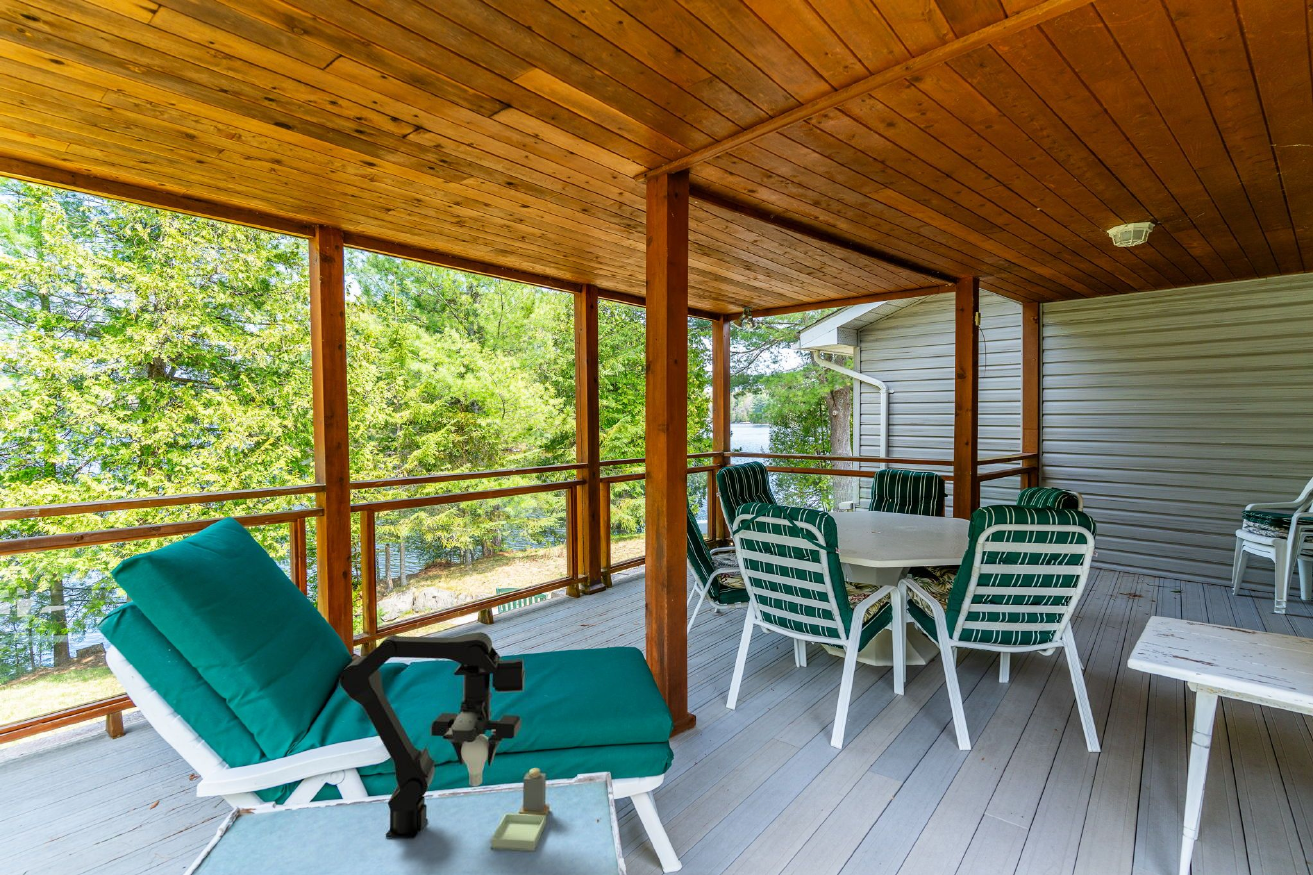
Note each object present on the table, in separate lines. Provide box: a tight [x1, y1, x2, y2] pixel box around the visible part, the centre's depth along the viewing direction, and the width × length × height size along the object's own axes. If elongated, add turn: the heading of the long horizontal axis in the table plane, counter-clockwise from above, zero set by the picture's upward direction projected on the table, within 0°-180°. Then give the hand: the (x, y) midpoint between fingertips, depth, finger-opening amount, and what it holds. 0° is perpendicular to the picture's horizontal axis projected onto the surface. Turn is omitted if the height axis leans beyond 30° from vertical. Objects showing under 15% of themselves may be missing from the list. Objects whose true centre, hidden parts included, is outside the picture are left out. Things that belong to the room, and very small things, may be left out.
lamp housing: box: [518, 767, 550, 818], centre depth 136 cm, size 6×4×10 cm, turn 86°
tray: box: [490, 813, 547, 852], centre depth 127 cm, size 9×9×2 cm
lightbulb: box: [461, 734, 489, 787], centre depth 132 cm, size 6×6×11 cm
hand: (475, 764), depth 132 cm, fingers closed on lightbulb, 6 cm apart
